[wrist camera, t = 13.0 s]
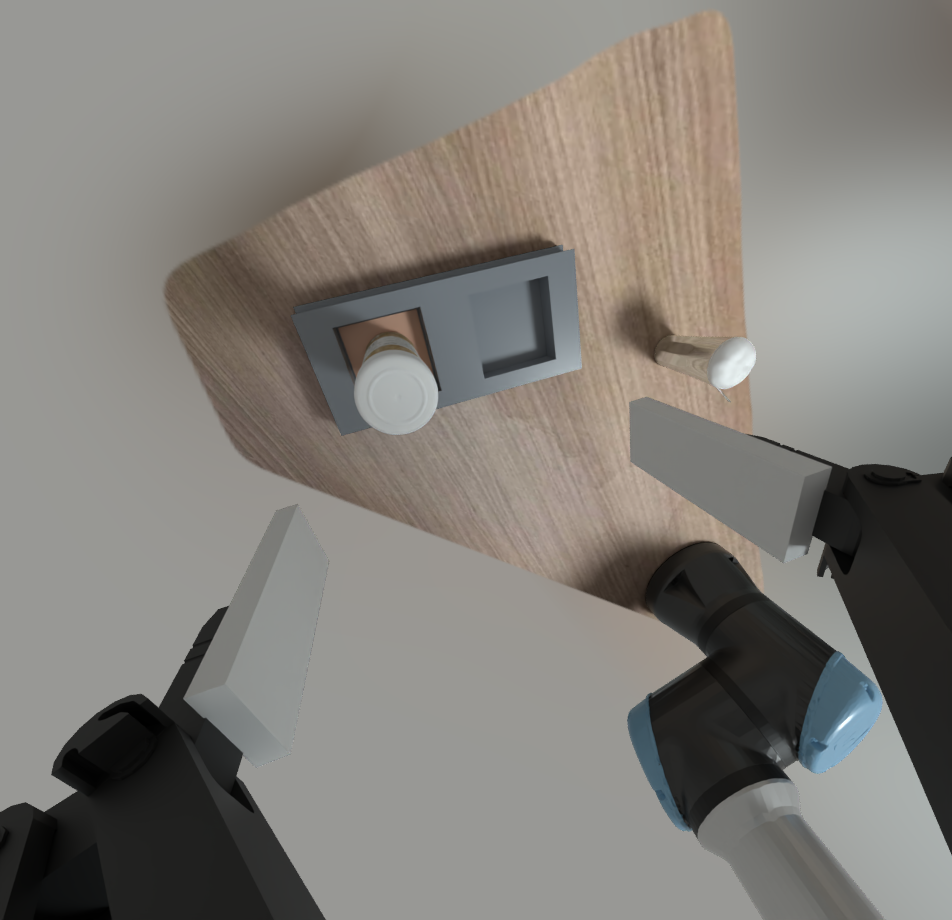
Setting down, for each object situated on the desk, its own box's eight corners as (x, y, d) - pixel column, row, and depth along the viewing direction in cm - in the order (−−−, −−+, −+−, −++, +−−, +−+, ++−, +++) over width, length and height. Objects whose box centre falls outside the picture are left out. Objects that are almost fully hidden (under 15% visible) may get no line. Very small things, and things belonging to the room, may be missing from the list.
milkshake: (636, 369, 39) (712, 392, 30) (664, 321, 37) (752, 330, 28) (665, 384, 41) (744, 409, 32) (692, 338, 39) (784, 352, 30)
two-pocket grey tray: (567, 367, 37) (582, 373, 34) (346, 429, 34) (343, 440, 31) (557, 245, 32) (573, 241, 29) (295, 306, 29) (287, 308, 26)
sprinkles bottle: (392, 394, 32) (398, 452, 20) (352, 356, 30) (333, 397, 18) (428, 358, 32) (456, 398, 20) (390, 317, 30) (395, 334, 18)
